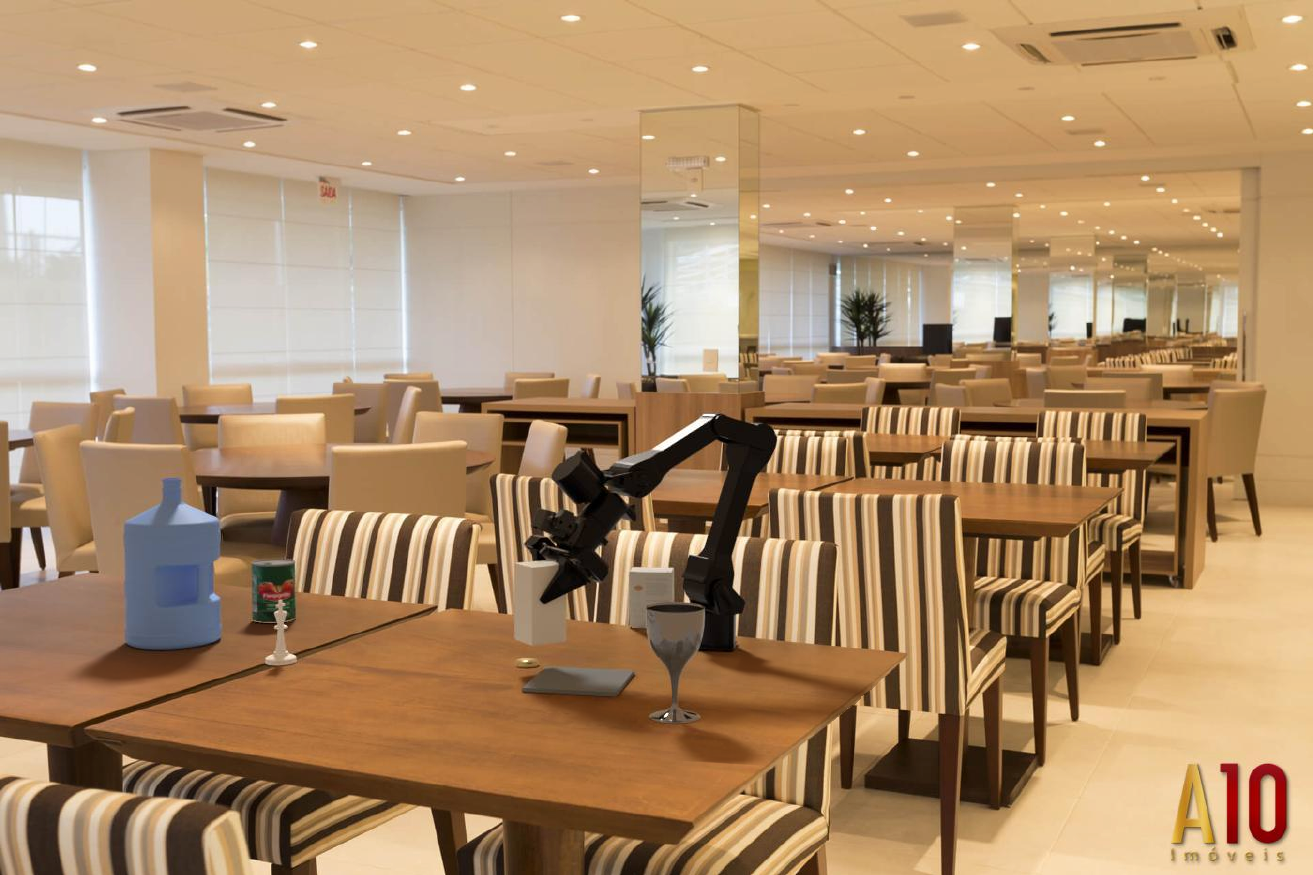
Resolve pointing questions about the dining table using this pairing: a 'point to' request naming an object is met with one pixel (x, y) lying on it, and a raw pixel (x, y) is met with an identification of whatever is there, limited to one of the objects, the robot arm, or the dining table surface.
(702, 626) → the wine glass
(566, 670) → the slate mat
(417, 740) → the dining table surface
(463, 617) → the dining table surface
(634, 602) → the small box
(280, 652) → the chess piece
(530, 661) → the brass button
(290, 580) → the canned tomato
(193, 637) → the water jug
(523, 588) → the white rectangular block
